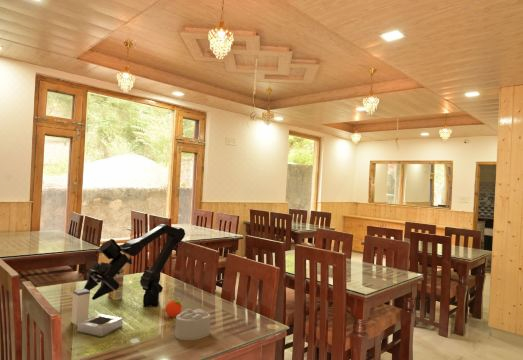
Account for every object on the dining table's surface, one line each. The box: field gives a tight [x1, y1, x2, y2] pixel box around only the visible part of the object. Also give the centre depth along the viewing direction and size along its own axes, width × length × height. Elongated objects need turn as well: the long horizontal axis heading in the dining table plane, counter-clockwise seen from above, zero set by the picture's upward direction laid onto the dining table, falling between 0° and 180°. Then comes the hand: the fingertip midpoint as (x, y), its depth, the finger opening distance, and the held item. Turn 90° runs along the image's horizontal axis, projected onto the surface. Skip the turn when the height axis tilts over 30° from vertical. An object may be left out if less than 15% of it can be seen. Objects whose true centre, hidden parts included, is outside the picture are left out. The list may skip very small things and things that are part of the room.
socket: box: [77, 313, 123, 338], centre depth 136 cm, size 11×11×4 cm
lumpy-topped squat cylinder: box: [174, 307, 212, 341], centre depth 136 cm, size 10×13×9 cm
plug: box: [70, 288, 91, 326], centre depth 142 cm, size 4×4×12 cm
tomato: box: [165, 299, 184, 318], centre depth 153 cm, size 8×7×7 cm
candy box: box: [107, 266, 125, 301], centre depth 174 cm, size 9×4×15 cm, turn 44°
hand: (87, 296), depth 144 cm, fingers open, 9 cm apart
